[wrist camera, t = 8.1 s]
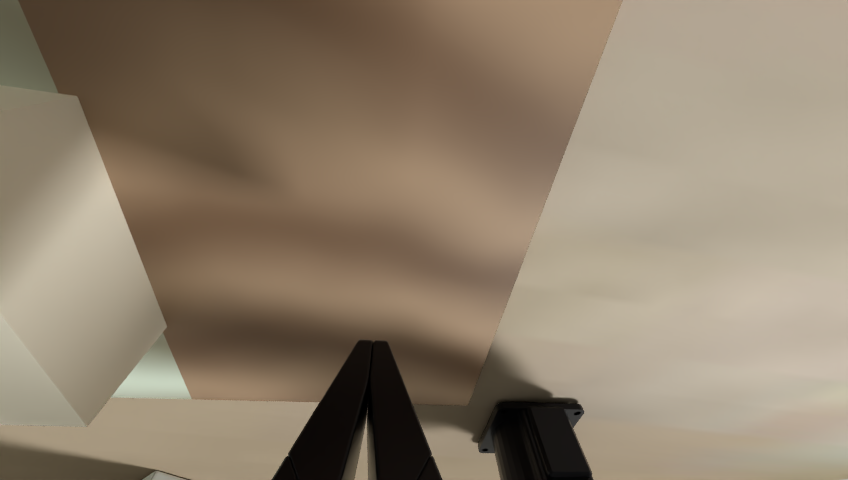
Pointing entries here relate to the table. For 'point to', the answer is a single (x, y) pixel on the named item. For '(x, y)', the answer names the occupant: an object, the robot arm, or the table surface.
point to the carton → (64, 268)
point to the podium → (319, 172)
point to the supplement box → (161, 476)
